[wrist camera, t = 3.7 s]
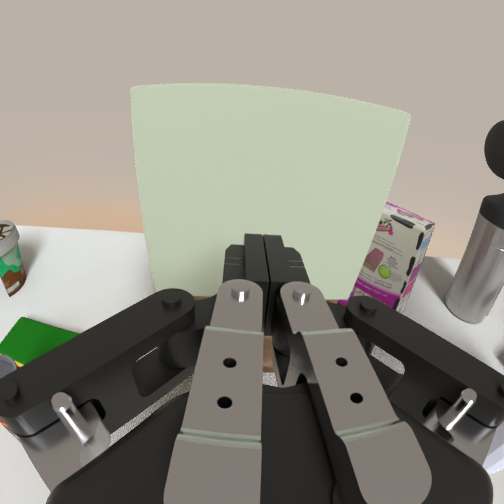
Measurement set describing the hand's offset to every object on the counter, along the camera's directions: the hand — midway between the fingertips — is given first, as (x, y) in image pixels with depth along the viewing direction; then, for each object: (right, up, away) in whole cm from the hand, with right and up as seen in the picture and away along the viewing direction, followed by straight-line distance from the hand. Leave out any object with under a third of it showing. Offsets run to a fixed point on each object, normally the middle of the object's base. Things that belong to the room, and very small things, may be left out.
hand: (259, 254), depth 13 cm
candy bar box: (+16, -9, +30) cm, 36 cm away
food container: (-43, -5, +29) cm, 51 cm away
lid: (+1, +3, +8) cm, 9 cm away
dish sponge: (-26, -13, +17) cm, 34 cm away
